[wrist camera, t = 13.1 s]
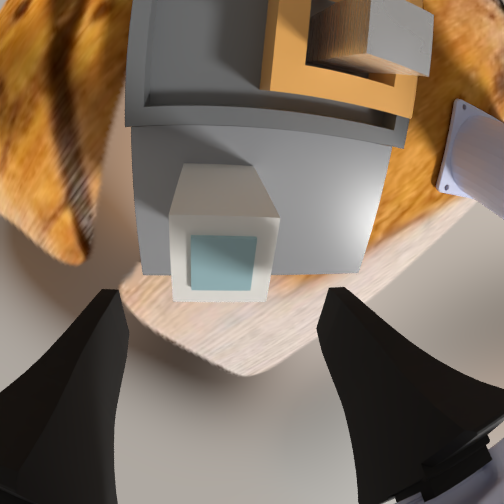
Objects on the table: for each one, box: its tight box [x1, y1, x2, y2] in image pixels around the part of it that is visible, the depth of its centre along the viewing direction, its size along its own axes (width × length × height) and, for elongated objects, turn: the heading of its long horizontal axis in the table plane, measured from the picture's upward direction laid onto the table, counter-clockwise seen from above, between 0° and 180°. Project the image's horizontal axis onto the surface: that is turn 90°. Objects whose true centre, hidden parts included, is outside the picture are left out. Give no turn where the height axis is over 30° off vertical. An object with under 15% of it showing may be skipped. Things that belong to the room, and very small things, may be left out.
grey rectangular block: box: [306, 0, 434, 77], centre depth 10 cm, size 3×3×7 cm
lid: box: [131, 125, 392, 275], centre depth 18 cm, size 16×11×1 cm, turn 85°
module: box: [169, 163, 280, 302], centre depth 14 cm, size 4×4×7 cm
